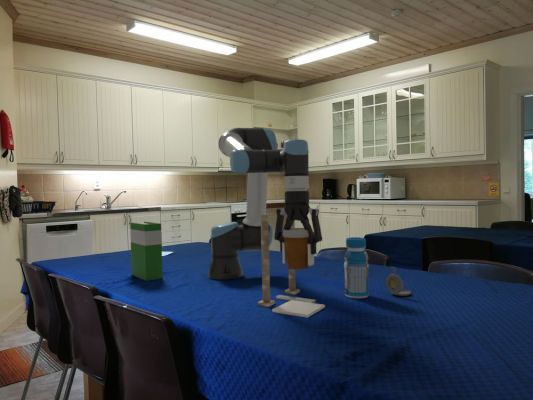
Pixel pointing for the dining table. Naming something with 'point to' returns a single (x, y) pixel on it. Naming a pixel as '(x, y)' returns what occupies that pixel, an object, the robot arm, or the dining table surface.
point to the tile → (298, 308)
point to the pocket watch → (398, 282)
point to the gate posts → (265, 267)
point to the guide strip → (295, 299)
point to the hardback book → (146, 250)
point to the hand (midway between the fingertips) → (298, 263)
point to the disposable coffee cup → (296, 248)
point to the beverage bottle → (356, 268)
